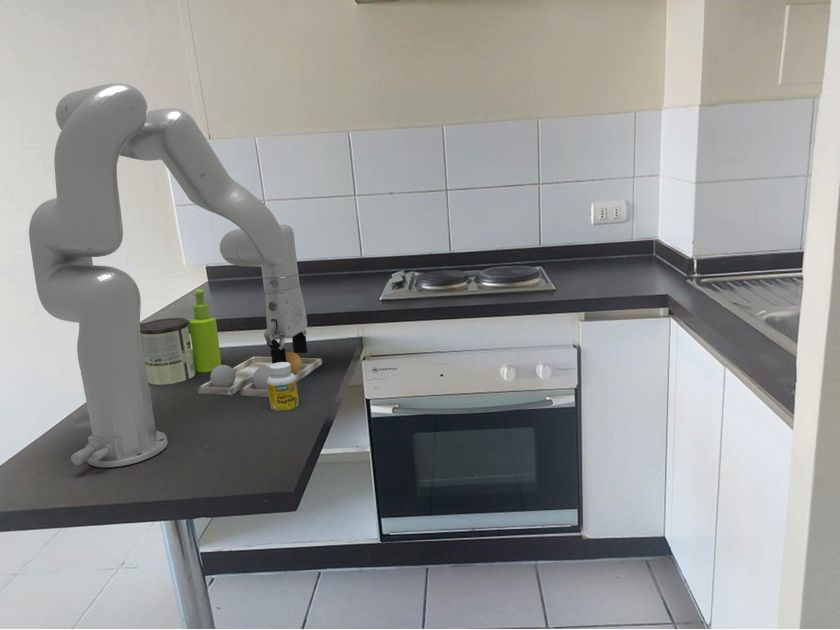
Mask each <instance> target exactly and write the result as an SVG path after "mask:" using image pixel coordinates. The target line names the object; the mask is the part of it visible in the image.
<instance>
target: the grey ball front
mask: <svg viewBox="0 0 840 630" xmlns="http://www.w3.org/2000/svg"><path fill="white" fill-rule="evenodd" d="M269 376H271V374H270V372H269V367H268V366H264V367H261V368H259V369H257V370H256V372H255V373H254V375H253V382H254V385H255V386H256V387H257V388H258V389H264V390H268V385H267V379H268V378H269Z"/></svg>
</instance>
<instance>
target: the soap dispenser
mask: <svg viewBox="0 0 840 630" xmlns="http://www.w3.org/2000/svg"><path fill="white" fill-rule="evenodd" d="M204 293H205V292H204V289H203V288H196V289H194V296H195V301H196V303H194V304H192V309H193V317H194V318H192V319H190V320H188V327H189V335H190V342H191V349H192V356H193V362H194V369H195V372H197V373H209V372H210V373H211V372H212V371H213V369H214V368H215V367H217V366H219V365H222V359H221V354H220V353H221V351H220V343H219V342H220V341H219V334H218V326H217V318H216V317H215V316H214V317H213V316H210V315H211V314H210V305H209V303H206V302H205V297H204Z"/></svg>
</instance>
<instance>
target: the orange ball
mask: <svg viewBox="0 0 840 630" xmlns="http://www.w3.org/2000/svg"><path fill="white" fill-rule="evenodd" d="M285 352H286V360H287V362H288V363H290V364H291V372H290V373H293V374H294V373H296V372H297V371H298V370H299V369H300V367H301V359H300V358H301V357H300V356H299V354H298V353H294V351H285Z"/></svg>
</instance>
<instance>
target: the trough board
mask: <svg viewBox="0 0 840 630" xmlns="http://www.w3.org/2000/svg"><path fill="white" fill-rule="evenodd" d="M300 359H301V367H300V369H299V370H298V371H297V372H296V373H294V375H295V377H296V383H297V382H299V381H300V380H302V379H303V378H305V377H306V376H307V375H309V374H310V373H312V372H313V371H314V370H316V369H317V368H319V367H320V366H322V364H323V360H322V359H323V358H316V357H315V358H311V357H300ZM271 364H272V357H271V356H252V357H250V358H248V359H246V360H245V361H243V362H241V363H239V364H237V365H236V366H234V367H231V368H232V369H233V370H234V372H235V381H234V383H233V384H232V385H231V386H230V387H228V388H221V387H215V386H214V385H213V384H212V382H211V379H210V380H208V381H207V382H206V383H203V384H201V385H200V386H198V387H197V392H198V394H204V395H205V394H206V395H221V396H233V395H234V394H236V393H237V392H239V391H240V396H241V397H242V396H245V397H262V398H269V392H268V390H264V389H258V388H257V387H256V386H255V385H254V382H253V375H254V373H255V372H256V370H257V369H259V368H261V367H264V366H268V367H269V366H270V365H271Z"/></svg>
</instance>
